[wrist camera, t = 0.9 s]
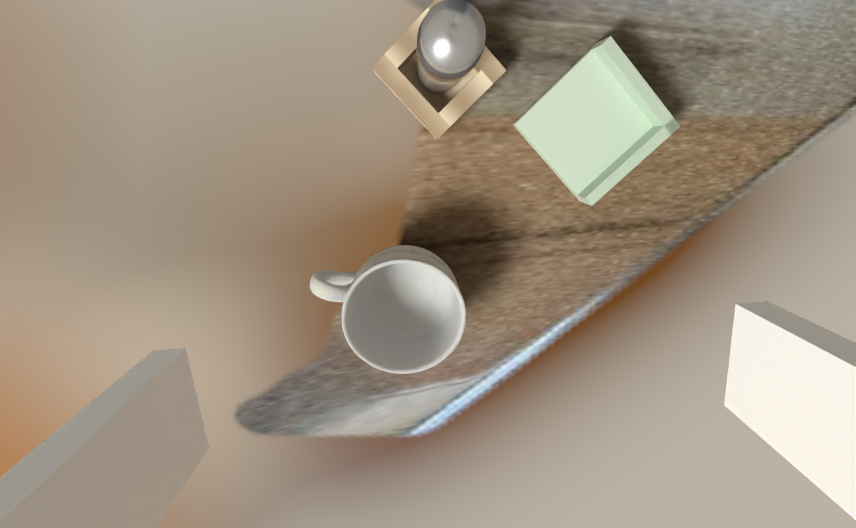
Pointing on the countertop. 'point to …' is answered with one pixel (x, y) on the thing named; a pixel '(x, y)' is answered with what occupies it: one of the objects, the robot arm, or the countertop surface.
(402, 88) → the socket
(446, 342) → the teacup
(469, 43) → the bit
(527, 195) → the countertop surface
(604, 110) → the pale green flat tray
